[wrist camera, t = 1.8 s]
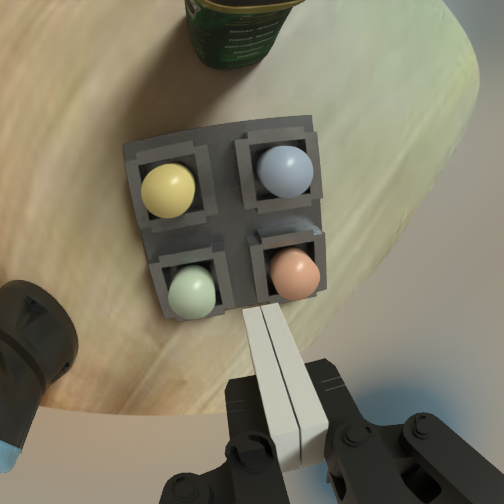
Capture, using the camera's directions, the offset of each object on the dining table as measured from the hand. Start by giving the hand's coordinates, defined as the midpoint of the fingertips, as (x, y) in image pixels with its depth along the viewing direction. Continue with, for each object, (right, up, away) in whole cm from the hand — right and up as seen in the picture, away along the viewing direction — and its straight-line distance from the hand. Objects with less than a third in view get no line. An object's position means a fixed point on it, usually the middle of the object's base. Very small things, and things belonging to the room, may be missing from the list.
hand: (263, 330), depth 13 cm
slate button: (+2, +11, +13) cm, 17 cm away
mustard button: (-8, +10, +12) cm, 18 cm away
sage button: (-7, 0, +16) cm, 17 cm away
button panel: (-3, +7, +18) cm, 19 cm away
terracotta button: (+3, +2, +17) cm, 17 cm away
